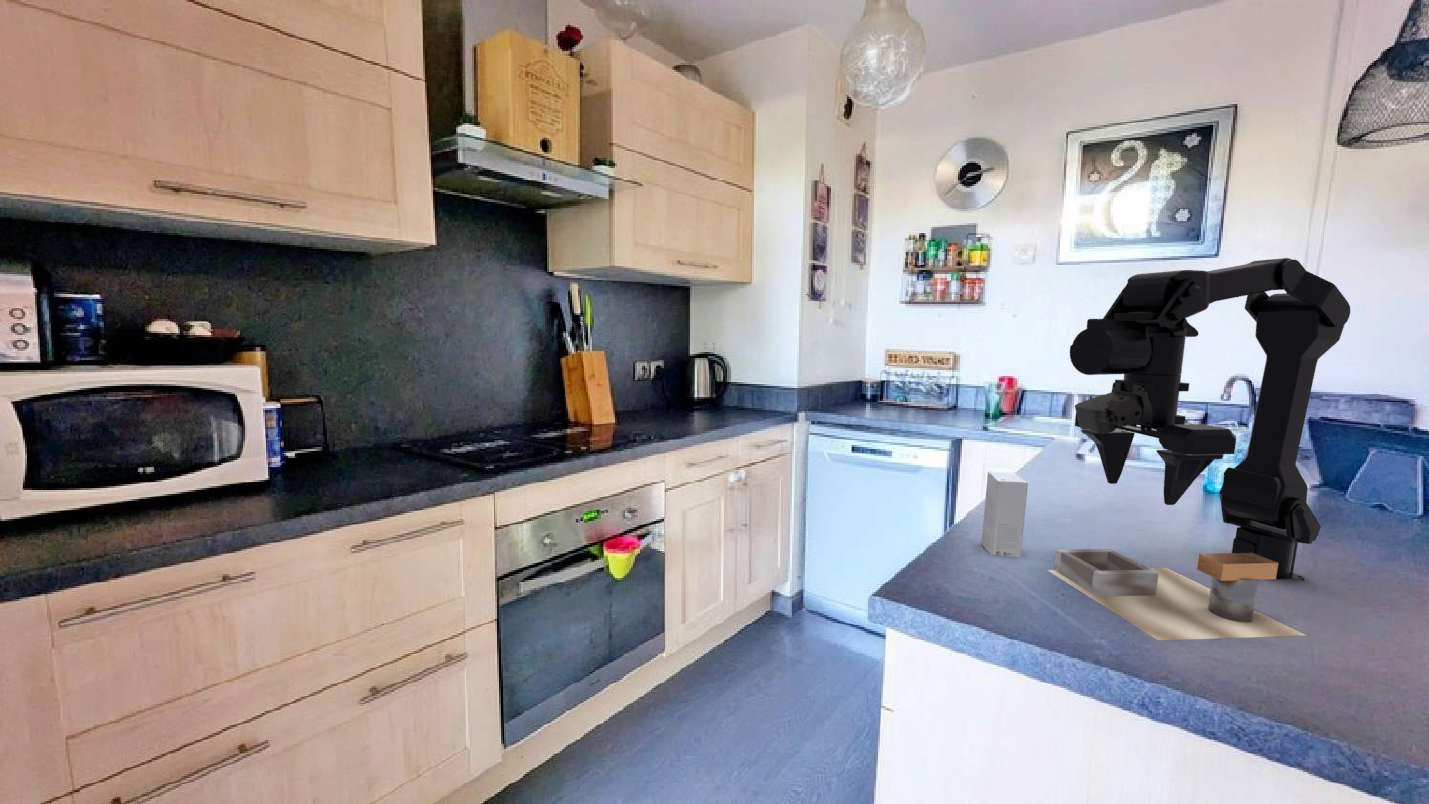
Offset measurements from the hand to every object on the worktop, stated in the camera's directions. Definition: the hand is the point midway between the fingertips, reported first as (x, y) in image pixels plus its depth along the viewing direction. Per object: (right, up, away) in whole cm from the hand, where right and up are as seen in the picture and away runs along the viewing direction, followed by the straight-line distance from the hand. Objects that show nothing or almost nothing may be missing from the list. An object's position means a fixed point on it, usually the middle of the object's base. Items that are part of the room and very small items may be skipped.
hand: (1139, 493), depth 74 cm
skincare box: (-11, -12, +14) cm, 21 cm away
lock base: (+1, -14, -2) cm, 14 cm away
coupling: (+7, -14, -5) cm, 16 cm away
